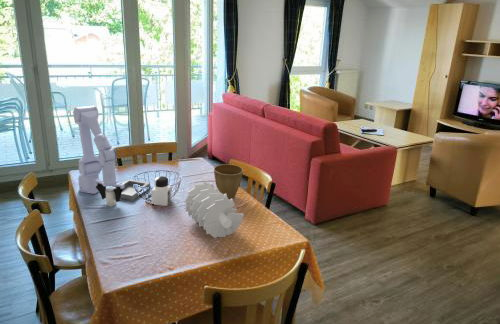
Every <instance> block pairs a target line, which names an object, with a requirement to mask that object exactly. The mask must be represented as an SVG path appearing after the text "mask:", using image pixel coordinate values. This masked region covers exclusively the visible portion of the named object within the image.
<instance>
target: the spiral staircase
mask: <svg viewBox="0 0 500 324" xmlns="http://www.w3.org/2000/svg"><path fill="white" fill-rule="evenodd" d="M187 194H188V195H187V197H186V198H185V200H184V203H185V204H186V205H185V212H187V214H188V217H191V219H193V220H194V222H195V224H196V223H198V225H199V226H198V227H200V228H201V227H203V230H205V233H206V235H210V236H212V237H213V238H214V239H217V238H226V236H230V235H231V234H233V233H235V232H236V230H237V229H238V228H239V227H240V226H241V224H242V221H243V218H244V216H245V213H238V212H237V210H238V209H237V208H233V207H236V204H235V202H234V199H230V200H229V199H228V198H227V194H222V193H221V192H220V191H219V190H218V188H217V186H216V187H214V184H213V182H210V183H208V182H207V181H203V182H202V183H196V184H195V185H194V187H193V188H192V189H190V190H188V191H187Z"/></svg>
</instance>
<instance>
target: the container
mask: <svg viewBox="0 0 500 324" xmlns="http://www.w3.org/2000/svg"><path fill="white" fill-rule="evenodd" d="M153 183H154V187H153V188H152V189H150V190H151V191H150V195H151V196H150V197H151V205H152V204H154V205H153V206H163V207H168V205H169V203H170V202H171V200H172V186H171V185H169V178H168V177H166V176H163V175H162V176H157V177H155V178H154V181H153Z"/></svg>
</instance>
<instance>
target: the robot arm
mask: <svg viewBox="0 0 500 324" xmlns="http://www.w3.org/2000/svg"><path fill="white" fill-rule="evenodd" d="M72 113H73V115H72V116H73V120H74V123H75V124H78V131H79V136H80V142H81V148H82V154H83V156H82V157H81V158H80V159H79V160H78V172H79V175H78V187H79V188H78V192H81V193H87V194H92V195H94V194H97V193H99V194H100V196H101V197H100V198H101V199H102V200H104V199H105V200H106V192H105V191H106V188H108V187H113V188H115V187H116V188H115V189H114V190H113V191H114V193H115V198H116V203H118V202H120V201H121V199H120V197H121V193H122V191H123V189H124V187H125V186H124V184H123V182H120V181H119V180H117V178H116V177H117V176H116V174H117V173H116V162H115V160H117V155H118V153H117V151H116V149H115V148H114V147H113V145H111V144H110V141H109V140H108V137H107V136H106V134H103V132H102V129H101V125H100V123H99V109H98V107H97V106H96V105H93V104H92V105H88V106H75V107H74V109H73V112H72ZM92 135H93V137H94V138H92ZM92 139H93V140H92ZM93 142H94V144H95V146H96V148H97V150H98V154H97V156H96V155H95V152H94V145H93ZM100 172H102V179H101V178H100V174H101V173H100Z"/></svg>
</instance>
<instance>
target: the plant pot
mask: <svg viewBox="0 0 500 324" xmlns="http://www.w3.org/2000/svg"><path fill="white" fill-rule="evenodd" d="M213 173H214V181H215V186H216V187H217V188H218V190H219V191H220V192H221V193H222V194H227V198H228V199H229V200H230V199H233V200H234V199H235V197H236V195H237V192H238V191H239V187H240V184H241V182H242V177H243V173H244V168H243V167H241V166H239V165H237V164H231V163H230V164H227V163H224V164H219V165H218V164H217V165H216V166H214V167H213Z"/></svg>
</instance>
